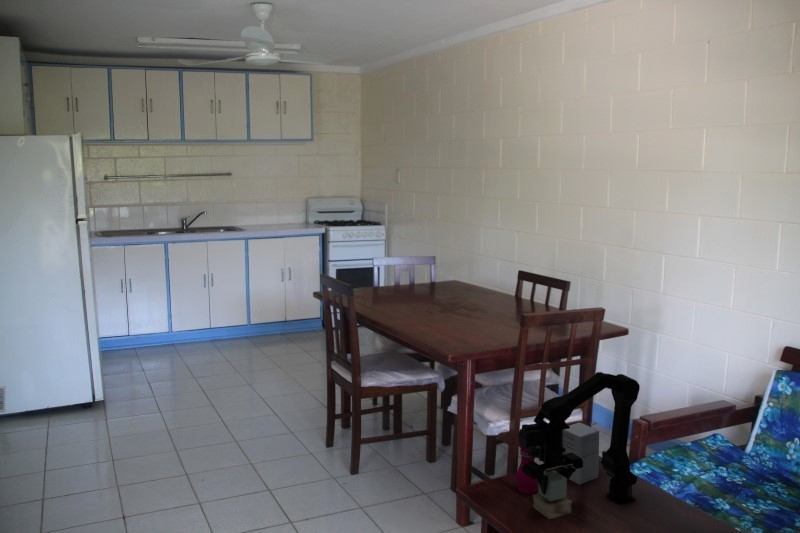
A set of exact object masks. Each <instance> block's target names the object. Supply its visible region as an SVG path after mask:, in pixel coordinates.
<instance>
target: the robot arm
mask: <svg viewBox="0 0 800 533" xmlns="http://www.w3.org/2000/svg"><path fill="white" fill-rule="evenodd" d="M605 389H610V391H611V392H610V393H611V395H612V399H613V401H614V408H613V415H612V416H613V417H612V426H611V427H612V428H611V435H610V436H611V437H610V442H609V444H610V446H609V448H608V449H607V450H606V451H604V450H602V452H601V456H602V457H601V461H600V464H601V466H602V469H603V470H604V472H606V475H607V476H609V477H610V479H609V484H608V493H606V495H605V496H606V497H608V498H609V499H611V500H613V501H614V502H616V503H617V504H618V505H621V504H626V503H631V502H635V501H636V498H635V497H634V496H633V485H637V482H638V477H637V476H636V475H635V474H634V473H633V472H632V471H631V461H630V460H631V459H630V457H629V454H628V451H627V450H628V448H627V447H628V440H629V432H630V431H629V430H630V422H631V413H632V406H633V405H634V404H635V403H636V402H637V400H638V396H639V393H640V383H639V382H638V381H637V380H636V379H634V378H632V377H630V376H627V375H625V374H623V373H618V374H616V375H614V374H612V373H605V372H602V371H597V372H595V373H594V374H593V376H591V377H589V379H587V380H586V381H584V382H582V383H581V384H580V385H579V384H578V386H576V387H575V388H573V389H572V390H570V391H569V392H567V393H566V394H563V395H560V396H555V397H552V398H550V399H547V400H546V401H544V402H543V403H542V404H541V408H540V410H539V411H538V412H537V414H536V415H535V417H534V419H533V422H534V423H529V424H527V423H526V424H525V423H524V424H522V425H521V428H520V429H519V431H518V433H517V435H518V443H519V442H520V445H521V446H522V448H527V453H528V456H530V457H533V458H534V459H538V461H539V462H542V464H541V463H540V464H538V463H537V462H535V460H534V461H532V462H528V463H524V464H523V465H522V472H523V473H524V474H526V475H527V476H529V477H530V478H531V479H537V480H538V482H537V484H538V483H539V486H540V488H541V491H542V493H543V494H544V495H545V494H546V490H547V484H548V476H547V475H545V473H546V472H547V471H548V470H553V469H558V473H559V474H561V475H562V476H564V477H565V478H567V483H568V481H570V479H569V478H570V477H571V475H572V474H573V473H574V472H575V471H576V469H579V468H583V460H582V458H580V457H579V456H577V455H575V454H574V453H567V454H563V452H565V449H566V448H564V447H563V430H564V429H569V428H570V425H569V424H567V423H566V421H567V420H568V419H569V418H570V417H571V416H572V413H573V412H574V410H575V409H576V408H578V407H579V406H581V405H583V404H584V403H585V402H587V401H588V400H590V399H591V398H592V397H594V396H596V395H597V394H599V393H601V392H602V391H604V390H605ZM544 419H545V420H544ZM546 420H547V421H548V422H547V421H546ZM536 446H537V447H536ZM573 467H574V468H575V469H574V468H573Z"/></svg>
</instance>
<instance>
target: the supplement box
mask: <svg viewBox="0 0 800 533" xmlns="http://www.w3.org/2000/svg"><path fill="white" fill-rule="evenodd" d="M569 426H570V428H569V429H564V430H563V447H564V448H566V449H565V452H563V454H567V453H574V454H575V455H577V456H579V457H580V458H582V460H583V468H579V469H576V471H575V472H574V473H573V474H572V475H571V477H570V478H569V481H572V482H573V483H576V484H578V485H581V484H585V483H587V482H590V481H592V480H595V479H598V478H599V469H600V468H599V465H600V464H599V462H600V461H599V457H600V430H599V429H597V428H594V427H591V426H589V425H588V424H585V423H582V422H577V423H573V424H569ZM573 468H574V467H573ZM574 469H575V468H574Z"/></svg>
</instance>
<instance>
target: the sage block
mask: <svg viewBox="0 0 800 533" xmlns="http://www.w3.org/2000/svg"><path fill="white" fill-rule="evenodd" d="M545 475H547V476H548V484H547V490H546V494H545V495H544V494H543V493H542V491H541V488H540V486H539V483H538V482H537V491H538V492H537V494H541V495H542V496H543V497H545V498H546V499H547V500H549V501H554V500H558V499H561V498H565V497H567V498H568V496H567V493H568V492H567V490H568V487H567V486H568V485H567V484H568V482H567V478H565V477H564V476H562V475H561V474H559V471H556V470H551V471H546V472H545Z"/></svg>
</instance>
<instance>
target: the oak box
mask: <svg viewBox="0 0 800 533" xmlns="http://www.w3.org/2000/svg"><path fill="white" fill-rule="evenodd" d="M532 497H533V509H535V510H537V511H538V512H539V513H540V514H542V515H543V516H544V517H545V518H547V519H548V520H553V519H555V518H559V517H563V516H567V515H570V514H572V503H573V500H572V499H570V498H568V496H567V497H565V498H561V499H558V500H554V501H549V500H547V499H546V498H545V497H543V496H542V495H541V494H539V493H534V494H532Z"/></svg>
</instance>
